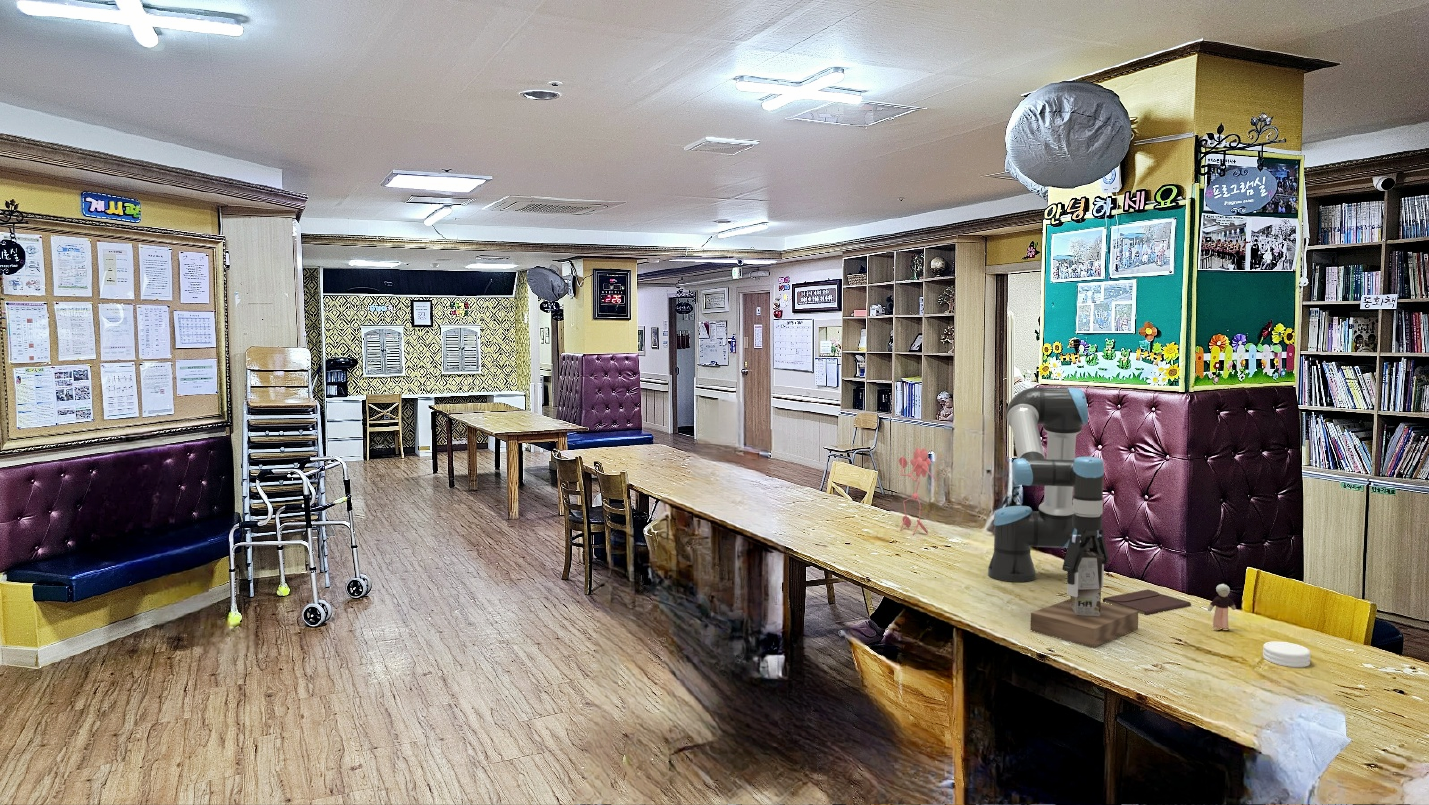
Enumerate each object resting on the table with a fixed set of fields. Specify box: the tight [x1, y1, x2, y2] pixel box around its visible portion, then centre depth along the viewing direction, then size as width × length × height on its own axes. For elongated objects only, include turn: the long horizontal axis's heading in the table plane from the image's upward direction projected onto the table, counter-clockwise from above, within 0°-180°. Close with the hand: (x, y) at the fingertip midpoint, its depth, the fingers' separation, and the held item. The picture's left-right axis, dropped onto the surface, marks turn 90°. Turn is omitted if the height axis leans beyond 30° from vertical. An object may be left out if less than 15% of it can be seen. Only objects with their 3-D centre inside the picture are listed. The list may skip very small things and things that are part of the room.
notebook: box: [1102, 589, 1192, 616], centre depth 271 cm, size 15×20×2 cm
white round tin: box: [1262, 640, 1312, 668], centre depth 224 cm, size 10×10×4 cm
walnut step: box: [1029, 598, 1139, 649], centre depth 247 cm, size 24×18×5 cm
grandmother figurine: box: [1207, 583, 1237, 631], centre depth 247 cm, size 8×4×13 cm, turn 105°
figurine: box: [898, 446, 938, 536], centre depth 373 cm, size 15×26×35 cm, turn 22°
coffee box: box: [1070, 549, 1102, 617], centre depth 247 cm, size 9×6×16 cm
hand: (1085, 591), depth 247 cm, fingers open, 13 cm apart
